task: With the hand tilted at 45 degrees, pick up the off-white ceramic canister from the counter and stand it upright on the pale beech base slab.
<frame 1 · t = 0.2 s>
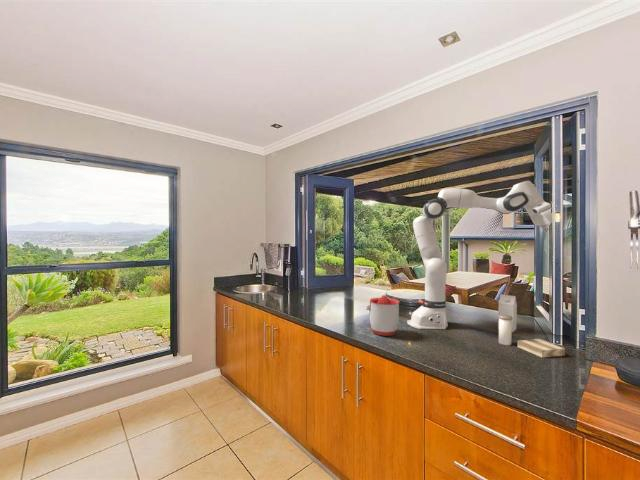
hand: (551, 231, 150), 54 cm above the worktop, tool tilted 30°, fingers open, 8 cm apart
milk carton: (507, 330, 159), on the worktop
base slab: (540, 350, 130), on the worktop
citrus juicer: (382, 332, 153), on the worktop
canister: (504, 343, 139), on the worktop
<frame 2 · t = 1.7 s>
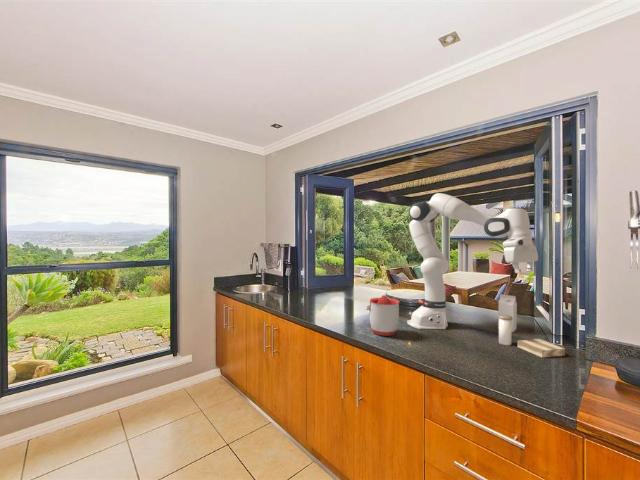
hand: (524, 272, 132), 35 cm above the worktop, tool pointing down, fingers open, 8 cm apart
nothing on the worktop moved.
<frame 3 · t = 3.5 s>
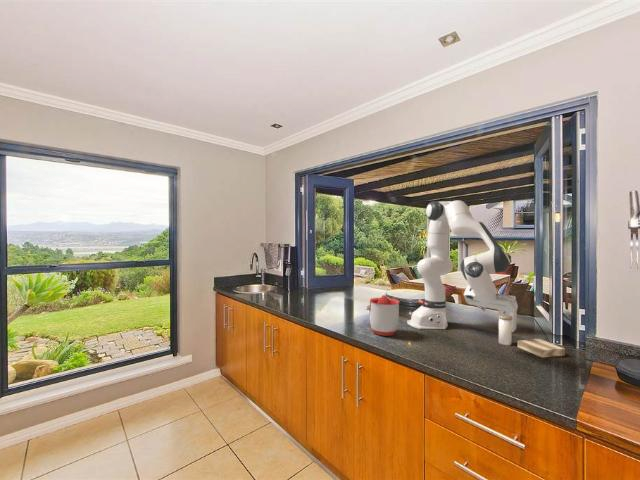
hand: (494, 311, 131), 17 cm above the worktop, tool tilted 45°, fingers open, 8 cm apart
nothing on the worktop moved.
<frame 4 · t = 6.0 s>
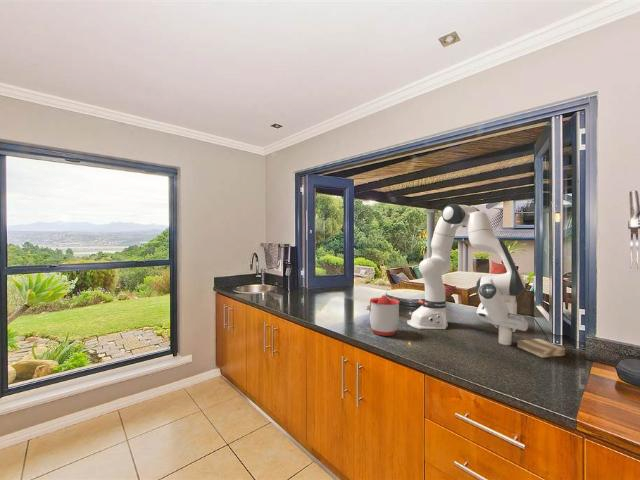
hand: (505, 328, 139), 7 cm above the worktop, tool tilted 45°, fingers closed on canister, 5 cm apart
canister: (504, 343, 139), on the worktop, touching gripper
everything else where it was.
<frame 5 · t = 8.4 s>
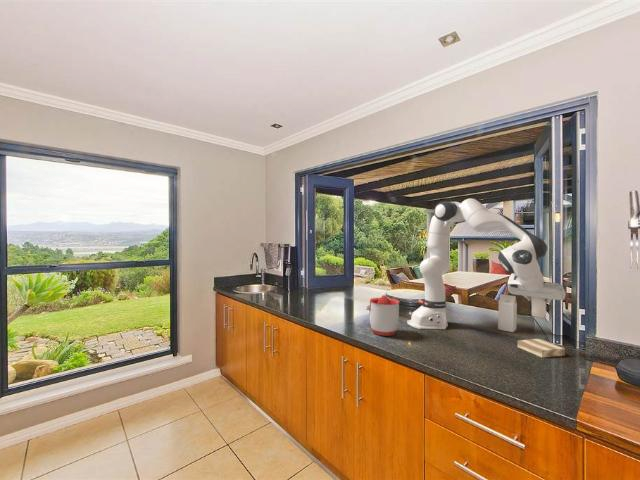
hand: (539, 300, 130), 22 cm above the worktop, tool tilted 45°, fingers closed on canister, 5 cm apart
canister: (538, 316, 130), point 15 cm above the worktop, touching gripper
everything else where it was.
when the fingers open (11 cm above the worktop, at t = 10.9 s): canister drops 1 cm, resting on base slab.
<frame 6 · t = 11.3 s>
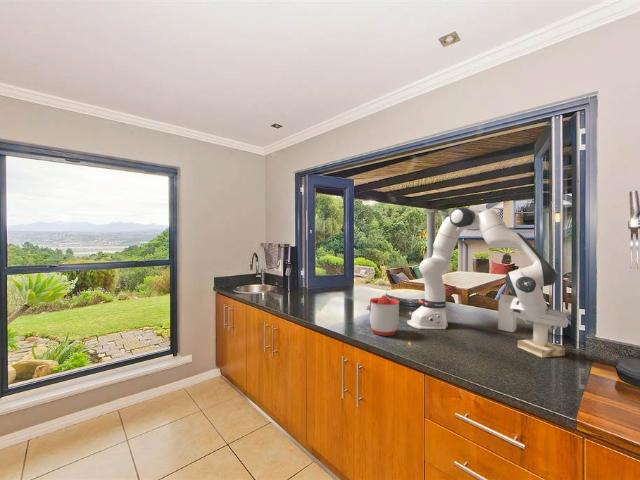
hand: (541, 325, 130), 11 cm above the worktop, tool tilted 45°, fingers open, 8 cm apart
canister: (540, 344, 130), point 3 cm above the worktop, touching base slab
everything else where it was.
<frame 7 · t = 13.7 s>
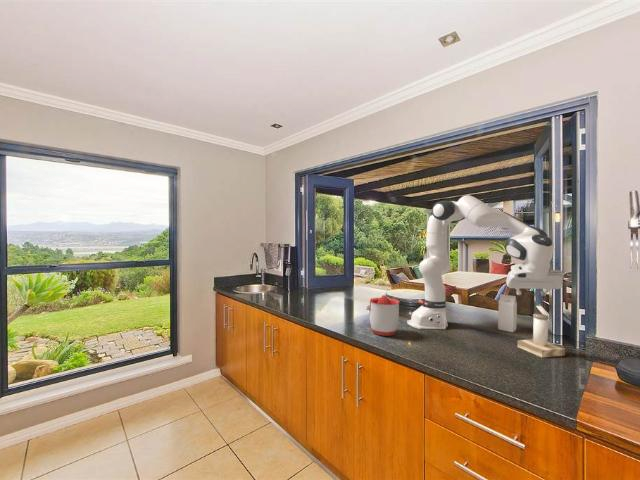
hand: (530, 294, 132), 25 cm above the worktop, tool tilted 30°, fingers open, 8 cm apart
nothing on the worktop moved.
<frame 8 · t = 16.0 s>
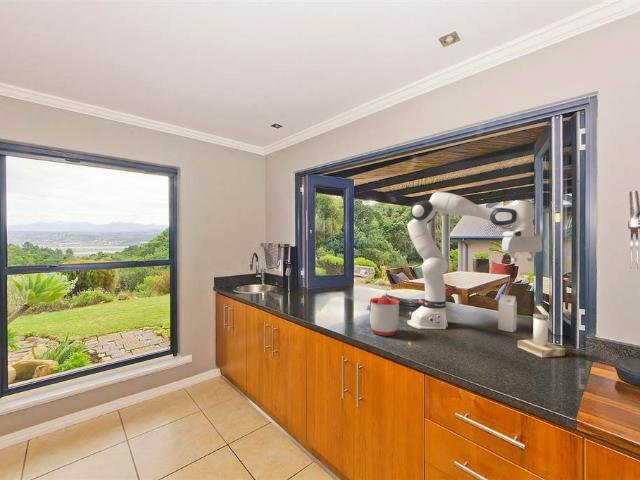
hand: (522, 261, 141), 39 cm above the worktop, tool pointing down, fingers open, 8 cm apart
nothing on the worktop moved.
at the end: canister inside the target area on the base slab (0.1 cm from its centre), point 3.0 cm above the base slab's base; canister tilted 0°; the gripper is holding nothing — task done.
